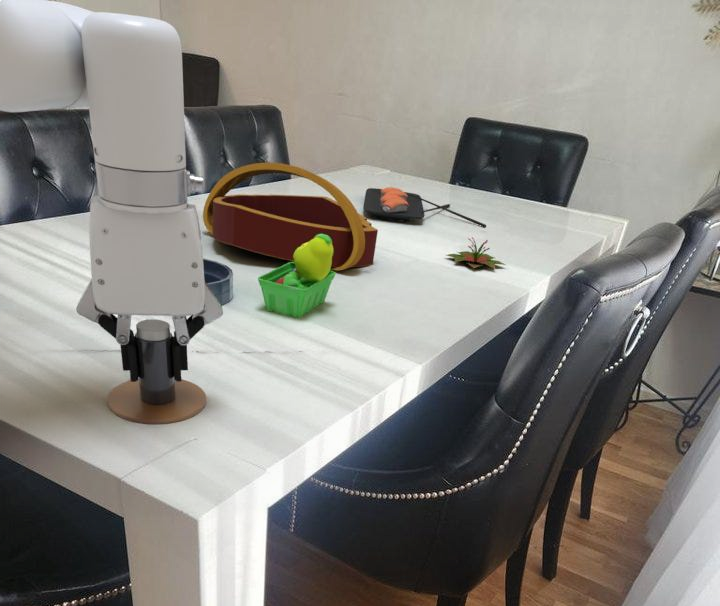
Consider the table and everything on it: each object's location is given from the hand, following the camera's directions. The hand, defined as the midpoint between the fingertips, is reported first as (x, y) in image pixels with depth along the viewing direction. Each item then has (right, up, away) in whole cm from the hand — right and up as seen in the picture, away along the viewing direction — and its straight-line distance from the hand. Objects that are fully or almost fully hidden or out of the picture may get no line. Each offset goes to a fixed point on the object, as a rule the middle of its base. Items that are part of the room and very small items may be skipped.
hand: (156, 374), depth 67 cm
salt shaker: (0, -2, +1) cm, 3 cm away
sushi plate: (+37, +55, +95) cm, 116 cm away
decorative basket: (+7, +31, +53) cm, 62 cm away
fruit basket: (+12, +14, +29) cm, 35 cm away
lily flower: (+44, +32, +62) cm, 82 cm away
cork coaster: (0, -3, +2) cm, 3 cm away
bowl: (-4, +16, +28) cm, 32 cm away
